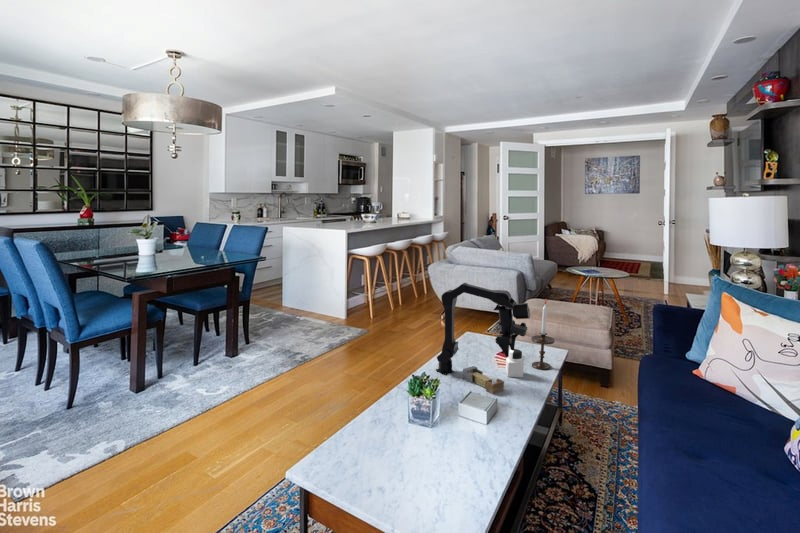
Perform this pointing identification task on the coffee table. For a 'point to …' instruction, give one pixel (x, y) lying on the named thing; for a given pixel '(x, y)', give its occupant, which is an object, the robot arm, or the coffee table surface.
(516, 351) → the medicine bottle
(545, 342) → the candlestick
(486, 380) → the bar
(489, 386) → the socket
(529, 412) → the coffee table surface
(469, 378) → the sleeve
